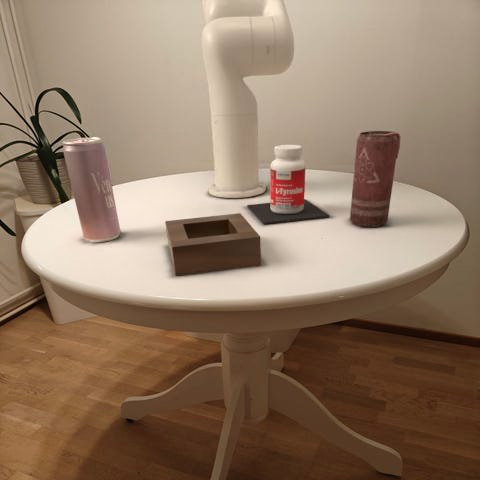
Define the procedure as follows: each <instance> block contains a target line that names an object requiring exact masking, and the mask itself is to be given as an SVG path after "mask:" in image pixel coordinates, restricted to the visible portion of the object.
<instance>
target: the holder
mask: <svg viewBox="0 0 480 480" xmlns="http://www.w3.org/2000/svg"><path fill="white" fill-rule="evenodd" d="M164 224H165V231H166V239H167V240H166V241H167V246H168V251H169V254H170V258H171V259H170V260H171V263H172V267H173V271H174V276H176V277H177V276H178V277H179V276H186V275H194V274H200V273H209V272H215V271H216V272H217V271H222V270H223V271H225V270H231V269H238V268H247V267H255V266H256V267H257V266H261V265H262V246H261V244H262V243H261V241H262V240H261V235H260V234H259V233H258V232H257V231H256V230H255V228H254V227H253V226H252V225H251V224H250V223H249V221H248V220H247V219H246V218H245V217H244V215H243V214H242V213H240V212H238V213H227V214H220V215H210V216H200V217H199V216H198V217H191V218H181V219H171V220H165V221H164Z"/></svg>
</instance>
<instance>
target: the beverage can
mask: <svg viewBox="0 0 480 480" xmlns="http://www.w3.org/2000/svg"><path fill="white" fill-rule="evenodd" d="M62 144H63V145H62V147H63V148H62V151H63V156H64V160H65V164H66V169H67V172H68V177H69V181H70V187H71V190H72V195H73V197H74V198H73V199H74V202H75V206H76V211H77V215H78V220H79V222H80V228H81V233H82V237H84V239H85V240H86V241H87V242H90V243H104V242H110V241H113V240H115V239H117V238H119V236H120V234H121V227H120V220H119V216H118V211H117V205H116V201H115V195H114V190H113V189H114V188H113V183H112V179H111V174H110V168H109V163H108V159H107V158H108V157H107V152H106V148H105V145H104V143H103V139H102V138H101V137H78V138H71V139H65V140H63V141H62Z"/></svg>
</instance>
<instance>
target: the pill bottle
mask: <svg viewBox="0 0 480 480" xmlns="http://www.w3.org/2000/svg"><path fill="white" fill-rule="evenodd" d="M273 152H274V153H273V154H274V157H275V159H274V160H272V161H271V163H270V167H269V168H270V170H269V171H270V172H269V175H270V176H269V178H270V179H269V187H270V188H269V191H270V192H269V193H270V194H269V203H270V208H271V211H273V212H274V213H277V214H296V213H300V212H301V211H302V210H303V209H304V199H305V193H306V192H305V191H306V168H307V167H306V162H305V161H304V160H303V159H302V158H301V157H302V154H303V147H302V146H301V145H299V144H281V145H276V146H274V151H273Z"/></svg>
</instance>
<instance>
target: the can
mask: <svg viewBox="0 0 480 480" xmlns="http://www.w3.org/2000/svg"><path fill="white" fill-rule="evenodd" d="M355 148H356V149H355V158H354V159H355V160H354V169H353V170H354V171H353V181H352V191H351V202H350V211H349V213H350V214H349V220H350V222H351V224H352V225H354V226H356V227H361V228H379V227H383V226H385V224H386V223H387V222H388V220H389V213H390V208H391V207H390V206H391V199H392V192H393V184H394V177H395V170H396V165H397V164H396V162H397V159H398V157H399V153H400V152H399V151H400V149H401V135H400V133H399V132H397V131H389V130H370V131H369V130H368V131H362V132H360V133H359V135H358V137H357V139H356V147H355Z"/></svg>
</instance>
